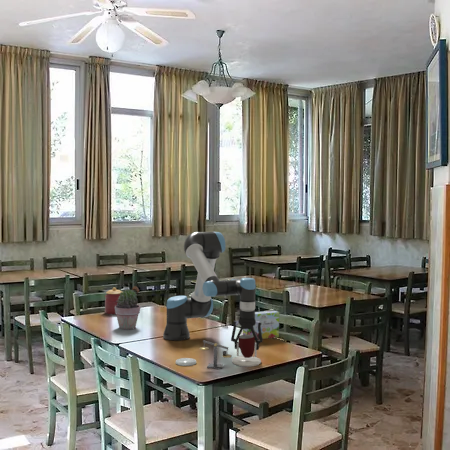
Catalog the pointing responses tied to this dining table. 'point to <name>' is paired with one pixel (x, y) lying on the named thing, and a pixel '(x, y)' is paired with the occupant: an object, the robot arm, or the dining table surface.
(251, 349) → the mug
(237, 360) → the dish right
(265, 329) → the snack box
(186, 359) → the saucer left
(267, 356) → the dining table surface
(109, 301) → the canister
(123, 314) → the potted plant
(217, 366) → the balance
